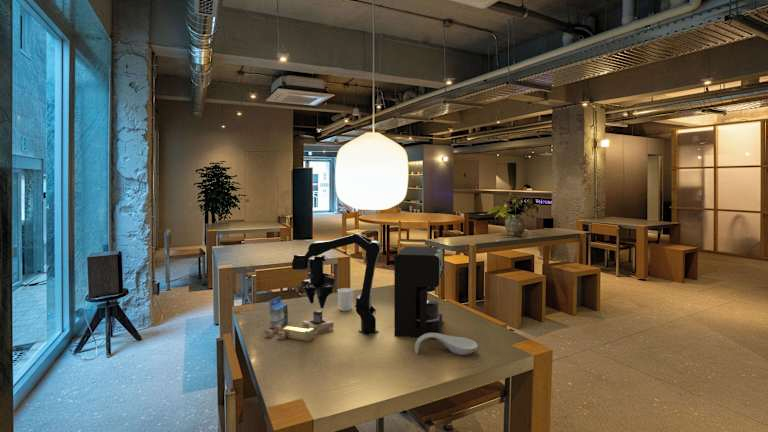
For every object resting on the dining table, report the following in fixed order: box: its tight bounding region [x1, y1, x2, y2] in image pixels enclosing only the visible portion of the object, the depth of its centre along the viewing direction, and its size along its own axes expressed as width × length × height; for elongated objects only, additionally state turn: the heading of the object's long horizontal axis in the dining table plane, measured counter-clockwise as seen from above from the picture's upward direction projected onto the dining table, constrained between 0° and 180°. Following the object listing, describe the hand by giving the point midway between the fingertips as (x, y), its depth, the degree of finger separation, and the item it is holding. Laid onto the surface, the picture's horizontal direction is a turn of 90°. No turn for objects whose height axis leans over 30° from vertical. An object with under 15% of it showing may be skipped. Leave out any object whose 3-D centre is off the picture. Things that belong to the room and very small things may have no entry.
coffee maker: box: [393, 246, 445, 340], centre depth 175 cm, size 28×20×35 cm
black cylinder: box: [312, 309, 323, 325], centre depth 176 cm, size 4×4×8 cm
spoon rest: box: [414, 333, 478, 356], centre depth 152 cm, size 24×12×7 cm, turn 91°
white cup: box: [337, 287, 354, 312], centre depth 206 cm, size 8×8×10 cm
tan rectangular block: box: [282, 325, 316, 342], centre depth 166 cm, size 13×4×4 cm, turn 68°
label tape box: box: [269, 295, 289, 329], centre depth 182 cm, size 9×4×12 cm, turn 161°
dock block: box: [301, 317, 334, 336], centre depth 176 cm, size 10×10×4 cm
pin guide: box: [264, 325, 287, 340], centre depth 169 cm, size 9×7×3 cm
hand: (316, 305), depth 175 cm, fingers open, 9 cm apart
